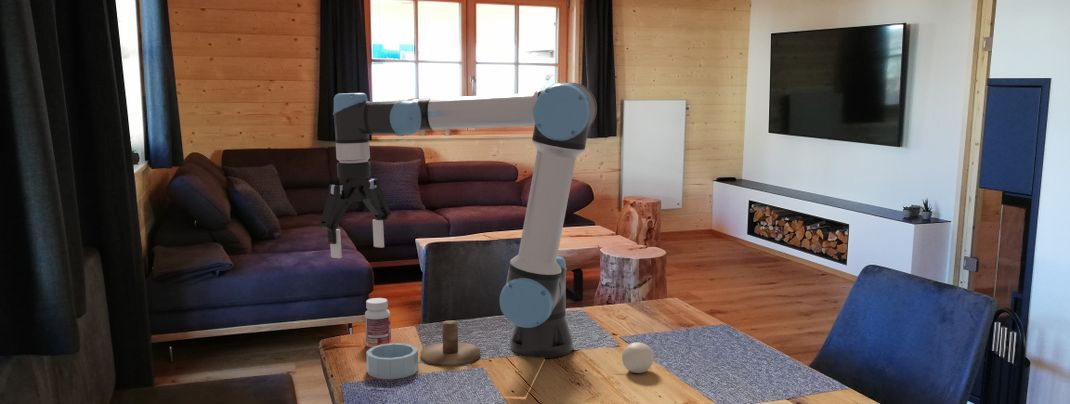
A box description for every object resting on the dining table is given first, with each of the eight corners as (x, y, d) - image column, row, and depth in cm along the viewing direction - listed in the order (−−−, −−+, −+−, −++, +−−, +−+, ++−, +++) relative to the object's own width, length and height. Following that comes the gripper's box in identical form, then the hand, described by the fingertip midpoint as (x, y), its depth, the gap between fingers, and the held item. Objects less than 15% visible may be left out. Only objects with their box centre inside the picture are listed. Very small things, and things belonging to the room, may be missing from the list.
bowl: (423, 365, 196) (423, 344, 195) (408, 382, 185) (408, 360, 184) (378, 362, 198) (377, 342, 197) (360, 379, 187) (359, 357, 186)
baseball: (659, 370, 193) (660, 342, 192) (641, 379, 187) (642, 350, 186) (634, 364, 197) (635, 336, 196) (616, 372, 191) (616, 343, 190)
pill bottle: (395, 346, 210) (394, 301, 208) (371, 350, 207) (370, 305, 205) (385, 339, 215) (383, 295, 213) (361, 344, 212) (360, 299, 210)
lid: (486, 347, 207) (486, 315, 206) (472, 367, 193) (471, 333, 192) (430, 344, 209) (429, 312, 208) (412, 363, 196) (411, 329, 195)
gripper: (380, 155, 208) (384, 241, 211) (299, 165, 188) (305, 260, 191) (403, 156, 204) (406, 244, 207) (323, 167, 183) (328, 264, 187)
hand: (358, 252), depth 199 cm, fingers open, 13 cm apart
